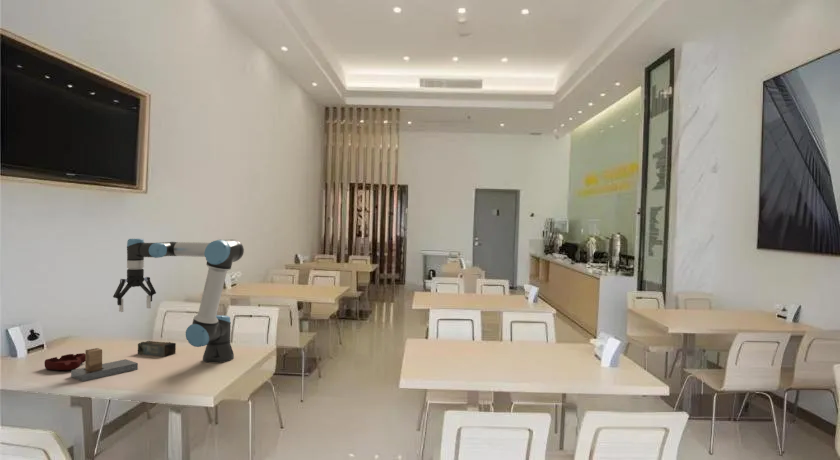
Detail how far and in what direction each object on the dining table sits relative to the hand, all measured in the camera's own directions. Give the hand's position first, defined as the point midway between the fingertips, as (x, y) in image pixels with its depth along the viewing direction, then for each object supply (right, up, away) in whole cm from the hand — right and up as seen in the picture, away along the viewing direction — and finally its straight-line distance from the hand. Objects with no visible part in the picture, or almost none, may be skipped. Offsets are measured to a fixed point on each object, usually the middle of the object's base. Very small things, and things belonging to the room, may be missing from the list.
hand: (135, 309), depth 258 cm
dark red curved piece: (-28, -27, -12) cm, 41 cm away
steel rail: (-3, -27, -20) cm, 33 cm away
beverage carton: (+2, -27, +16) cm, 32 cm away
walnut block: (-6, -27, -24) cm, 36 cm away
